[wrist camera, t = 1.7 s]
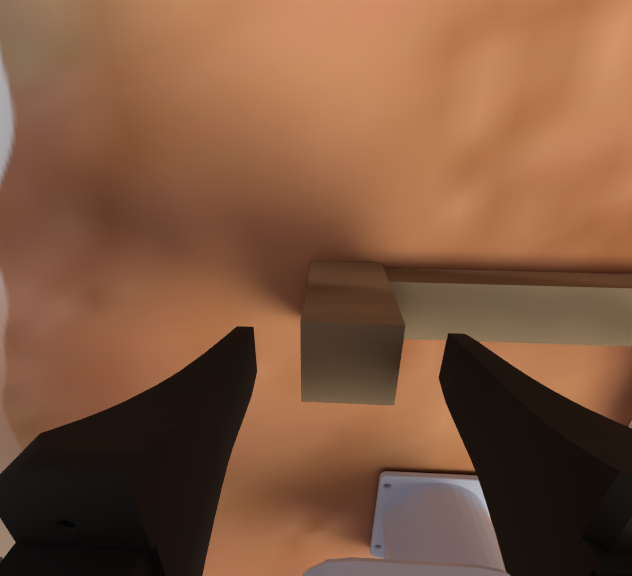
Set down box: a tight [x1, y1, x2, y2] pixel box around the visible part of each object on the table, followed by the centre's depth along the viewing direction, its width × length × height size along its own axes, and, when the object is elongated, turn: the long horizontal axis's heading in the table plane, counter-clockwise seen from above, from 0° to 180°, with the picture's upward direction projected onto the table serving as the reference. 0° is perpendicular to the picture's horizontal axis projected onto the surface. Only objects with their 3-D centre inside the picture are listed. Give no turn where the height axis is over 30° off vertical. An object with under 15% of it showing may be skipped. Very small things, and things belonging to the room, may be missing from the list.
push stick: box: [300, 261, 632, 405], centre depth 14 cm, size 4×17×6 cm, turn 89°
